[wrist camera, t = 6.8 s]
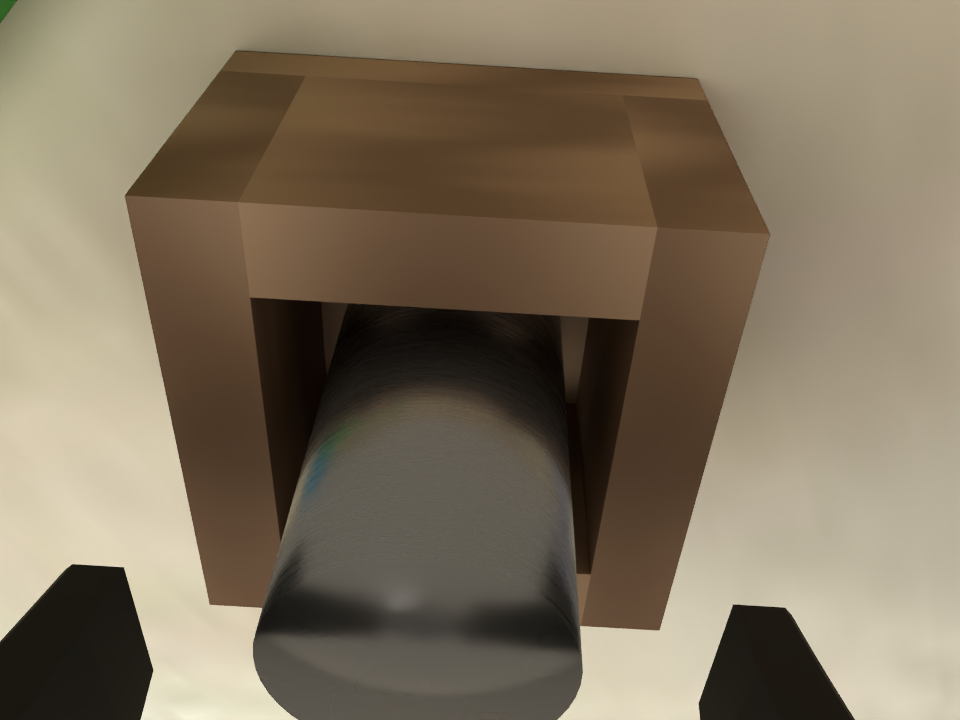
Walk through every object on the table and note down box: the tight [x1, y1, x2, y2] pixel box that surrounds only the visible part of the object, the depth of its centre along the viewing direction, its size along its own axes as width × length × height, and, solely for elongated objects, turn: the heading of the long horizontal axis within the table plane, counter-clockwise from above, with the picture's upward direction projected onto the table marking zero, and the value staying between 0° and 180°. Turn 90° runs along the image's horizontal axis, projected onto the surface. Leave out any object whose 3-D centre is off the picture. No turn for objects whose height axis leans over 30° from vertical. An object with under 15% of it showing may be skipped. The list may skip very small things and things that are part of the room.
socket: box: [125, 51, 770, 630], centre depth 16 cm, size 8×8×6 cm
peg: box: [253, 303, 583, 720], centre depth 14 cm, size 4×4×8 cm
